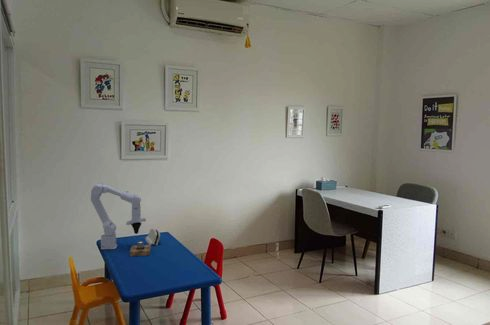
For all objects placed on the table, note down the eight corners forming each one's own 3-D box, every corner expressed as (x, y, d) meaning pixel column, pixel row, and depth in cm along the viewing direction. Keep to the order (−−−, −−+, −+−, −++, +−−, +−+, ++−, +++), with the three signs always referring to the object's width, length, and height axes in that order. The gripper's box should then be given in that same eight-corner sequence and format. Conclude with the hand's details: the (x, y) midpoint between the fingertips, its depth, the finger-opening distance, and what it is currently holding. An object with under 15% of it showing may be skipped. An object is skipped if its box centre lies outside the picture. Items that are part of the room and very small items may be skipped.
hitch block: (129, 256, 238) (129, 251, 238) (132, 250, 250) (132, 245, 250) (149, 255, 240) (149, 250, 240) (150, 249, 252) (150, 245, 252)
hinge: (144, 239, 274) (149, 226, 275) (151, 240, 276) (155, 227, 277) (150, 246, 259) (155, 232, 260) (156, 247, 261) (161, 233, 262)
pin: (137, 253, 243) (137, 243, 243) (138, 251, 247) (137, 241, 246) (142, 253, 244) (142, 242, 243) (143, 251, 247) (143, 241, 247)
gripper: (130, 216, 247) (131, 236, 248) (148, 212, 258) (148, 232, 260) (124, 214, 251) (124, 234, 252) (141, 211, 262) (142, 230, 264)
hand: (136, 233), depth 256 cm, fingers closed
